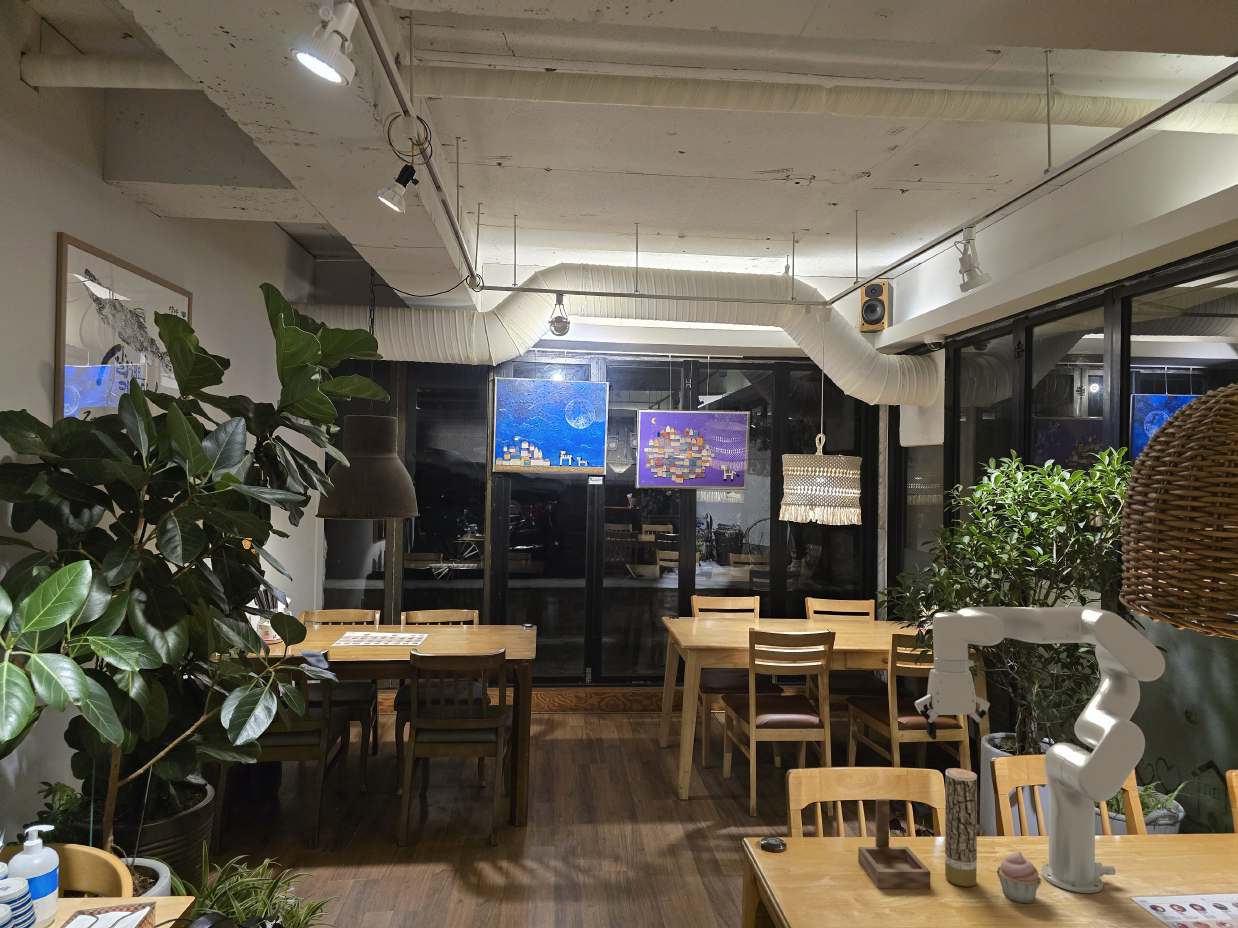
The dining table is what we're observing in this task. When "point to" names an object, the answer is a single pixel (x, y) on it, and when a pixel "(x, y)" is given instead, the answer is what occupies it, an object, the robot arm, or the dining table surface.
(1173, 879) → the dining table surface
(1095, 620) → the robot arm
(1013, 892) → the cupcake
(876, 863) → the holder
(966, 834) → the paper tube
